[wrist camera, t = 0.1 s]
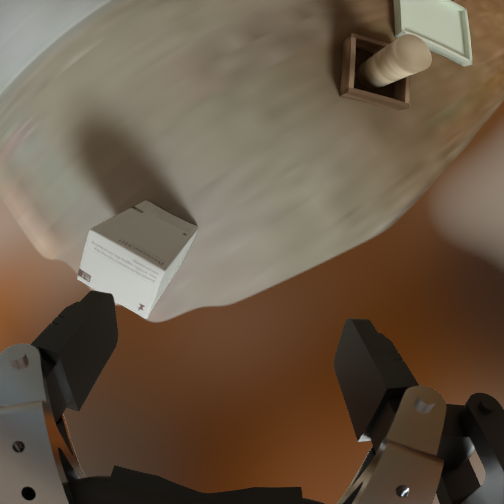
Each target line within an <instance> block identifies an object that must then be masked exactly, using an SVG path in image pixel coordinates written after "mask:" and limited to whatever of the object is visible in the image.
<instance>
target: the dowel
mask: <svg viewBox="0 0 504 504" xmlns="http://www.w3.org/2000/svg"><path fill="white" fill-rule="evenodd" d="M431 61H432V57H431V52H430V50H429V48H428V46H427V45H426V43H425V42H424V41H423V40H422V39H420V38H419V37H417V36H415V35H412V34H405V35H403V36H401V37H400V38H398V39H396V40H395V41H393V42H392V43H390V44H389V45H388V46H386V47H385V48H383V49H382V50H380V51H379V52H377V53H376V54H374V55H373V56H372V57H370V58H369V59H367V60H366V61H364V62H363V63H362V64H360V65H359V67H358V69H357V76H358V79H359V81H360V82H361V83H362V84H363V85H364V86H365V87H367V88H369V89H378V88H381V87H383V86H385V85H388V84H390V83H392V82H395V81H397V80H400V79H402V78H405V77H407V76H410V75H412V74H415V73H417V72H420V71H423V70H425V69H427V68H428V67H429V66H430V64H431Z"/></svg>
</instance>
